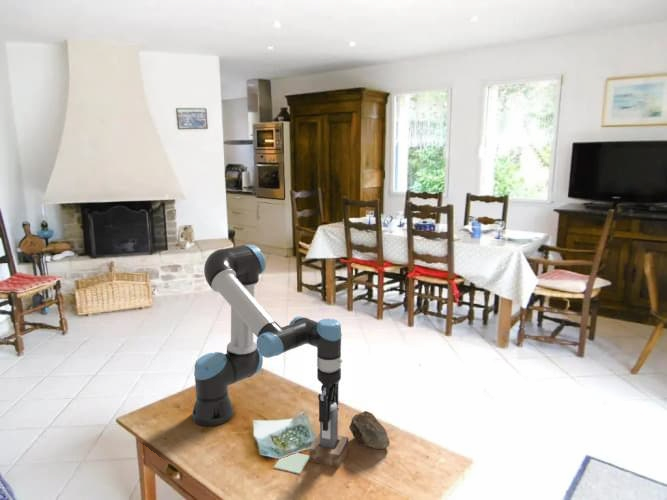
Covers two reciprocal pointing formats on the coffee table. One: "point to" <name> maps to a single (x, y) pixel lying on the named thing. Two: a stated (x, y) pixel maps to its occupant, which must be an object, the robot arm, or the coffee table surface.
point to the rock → (369, 431)
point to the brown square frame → (329, 452)
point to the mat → (293, 463)
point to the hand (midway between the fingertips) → (329, 433)
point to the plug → (333, 440)
